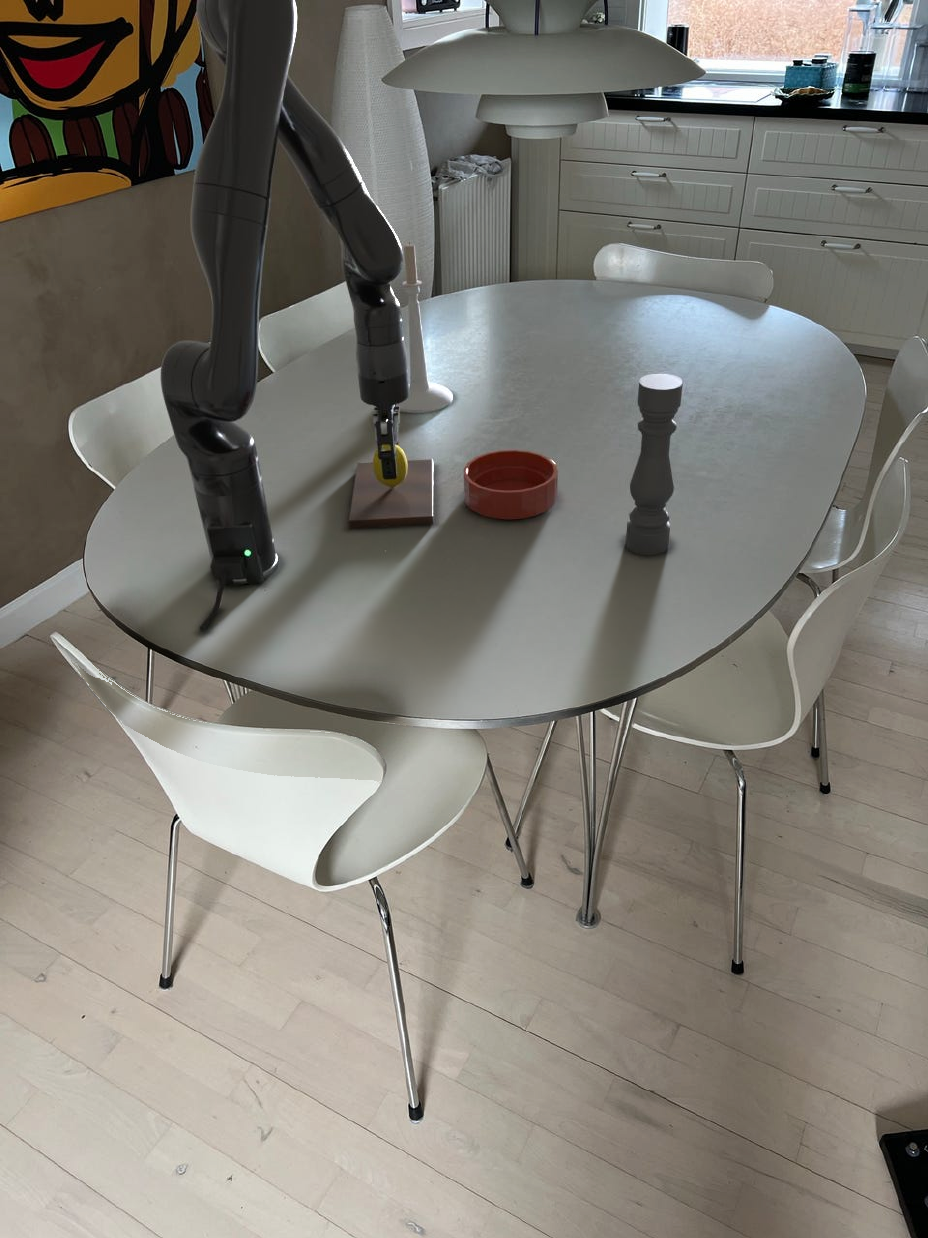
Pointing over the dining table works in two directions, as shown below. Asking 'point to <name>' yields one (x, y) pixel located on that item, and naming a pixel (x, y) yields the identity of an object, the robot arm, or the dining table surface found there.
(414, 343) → the candlestick
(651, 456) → the candle holder
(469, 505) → the bowl
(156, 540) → the dining table surface
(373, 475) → the board
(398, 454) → the lemon
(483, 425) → the dining table surface
